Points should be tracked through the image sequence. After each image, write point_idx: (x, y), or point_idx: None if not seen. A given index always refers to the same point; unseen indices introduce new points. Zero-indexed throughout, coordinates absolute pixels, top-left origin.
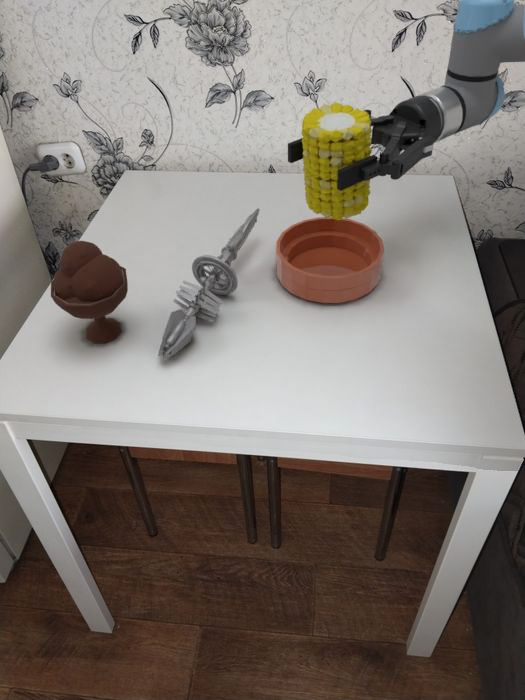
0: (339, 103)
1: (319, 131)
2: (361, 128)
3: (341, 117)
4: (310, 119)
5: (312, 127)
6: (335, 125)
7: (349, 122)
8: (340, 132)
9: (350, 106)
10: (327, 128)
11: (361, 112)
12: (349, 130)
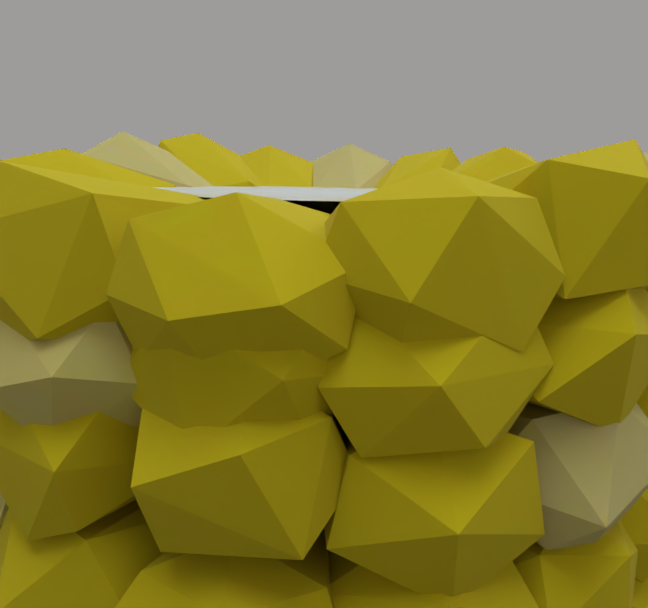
0: (598, 163)
1: (319, 165)
2: (14, 160)
3: (323, 196)
4: (485, 158)
5: (396, 167)
6: (286, 189)
7: (186, 191)
8: (161, 143)
9: (392, 186)
10: (317, 187)
11: (109, 186)
12: (106, 143)
